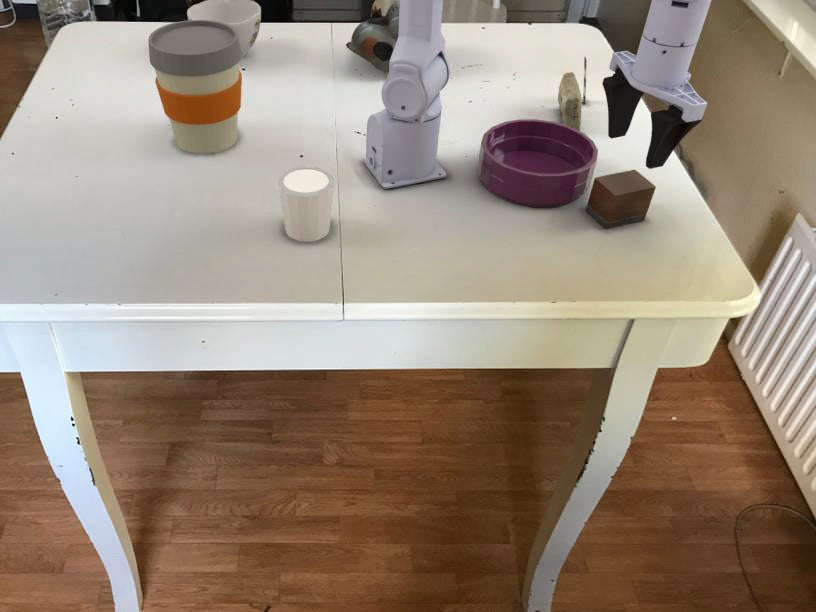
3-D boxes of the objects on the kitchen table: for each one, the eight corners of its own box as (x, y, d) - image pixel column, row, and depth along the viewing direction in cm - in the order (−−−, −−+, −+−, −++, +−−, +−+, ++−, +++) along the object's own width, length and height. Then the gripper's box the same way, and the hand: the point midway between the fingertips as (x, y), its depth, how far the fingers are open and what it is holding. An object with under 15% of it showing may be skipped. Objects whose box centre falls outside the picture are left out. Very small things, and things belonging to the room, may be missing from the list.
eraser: (604, 229, 95) (615, 195, 92) (585, 211, 98) (594, 177, 95) (644, 220, 97) (656, 186, 93) (624, 202, 100) (634, 169, 96)
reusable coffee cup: (252, 119, 116) (244, 19, 106) (245, 160, 107) (235, 55, 97) (171, 119, 116) (154, 19, 106) (157, 160, 107) (138, 55, 97)
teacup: (191, 44, 137) (185, -3, 131) (260, 39, 138) (257, -7, 133) (194, 79, 126) (188, 31, 121) (268, 74, 128) (265, 26, 122)
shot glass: (304, 207, 99) (303, 159, 94) (345, 226, 96) (346, 178, 91) (269, 230, 95) (265, 182, 90) (310, 251, 92) (308, 202, 87)
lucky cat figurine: (360, 43, 137) (399, -32, 129) (414, 80, 137) (457, 7, 129) (333, 49, 124) (376, -33, 117) (393, 90, 124) (439, 10, 117)
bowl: (510, 218, 97) (517, 184, 93) (458, 161, 107) (462, 129, 104) (611, 197, 101) (621, 163, 97) (551, 144, 111) (558, 112, 107)
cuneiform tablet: (584, 100, 121) (594, 135, 112) (555, 104, 122) (563, 139, 113) (585, 56, 116) (596, 90, 107) (555, 61, 117) (563, 94, 108)
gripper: (746, 57, 77) (701, 174, 87) (659, 9, 87) (627, 118, 97) (690, 67, 76) (650, 185, 85) (607, 16, 86) (580, 127, 95)
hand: (634, 150), depth 91 cm, fingers open, 7 cm apart
